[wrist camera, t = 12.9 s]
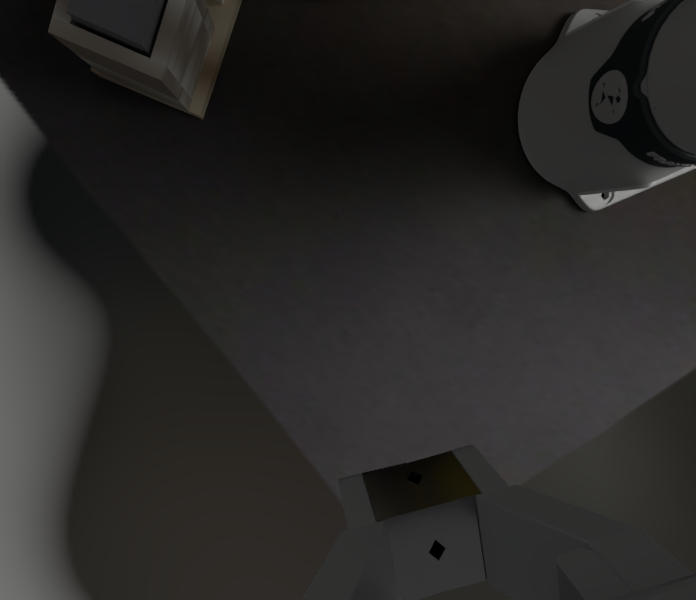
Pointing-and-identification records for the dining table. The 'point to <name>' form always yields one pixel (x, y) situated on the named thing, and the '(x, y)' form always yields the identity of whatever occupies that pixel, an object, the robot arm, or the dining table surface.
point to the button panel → (161, 52)
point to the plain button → (121, 21)
